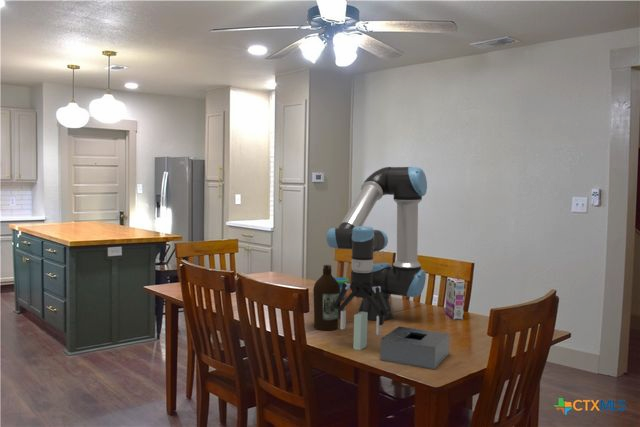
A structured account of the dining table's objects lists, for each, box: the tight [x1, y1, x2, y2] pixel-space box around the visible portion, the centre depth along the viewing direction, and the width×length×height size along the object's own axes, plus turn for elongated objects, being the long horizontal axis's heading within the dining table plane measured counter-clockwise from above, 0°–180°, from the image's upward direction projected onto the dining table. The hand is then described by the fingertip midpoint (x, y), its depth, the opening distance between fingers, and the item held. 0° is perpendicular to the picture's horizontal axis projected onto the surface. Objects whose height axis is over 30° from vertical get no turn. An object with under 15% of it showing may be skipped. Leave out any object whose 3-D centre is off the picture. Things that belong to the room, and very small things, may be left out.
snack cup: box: [333, 276, 350, 300], centre depth 269 cm, size 16×10×10 cm
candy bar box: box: [445, 277, 466, 321], centre depth 237 cm, size 11×5×16 cm, turn 5°
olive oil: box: [312, 264, 340, 332], centre depth 215 cm, size 11×11×25 cm
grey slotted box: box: [379, 326, 451, 370], centre depth 181 cm, size 18×18×7 cm
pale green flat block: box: [353, 312, 368, 351], centre depth 190 cm, size 2×6×12 cm, turn 153°
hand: (360, 331), depth 190 cm, fingers open, 13 cm apart
